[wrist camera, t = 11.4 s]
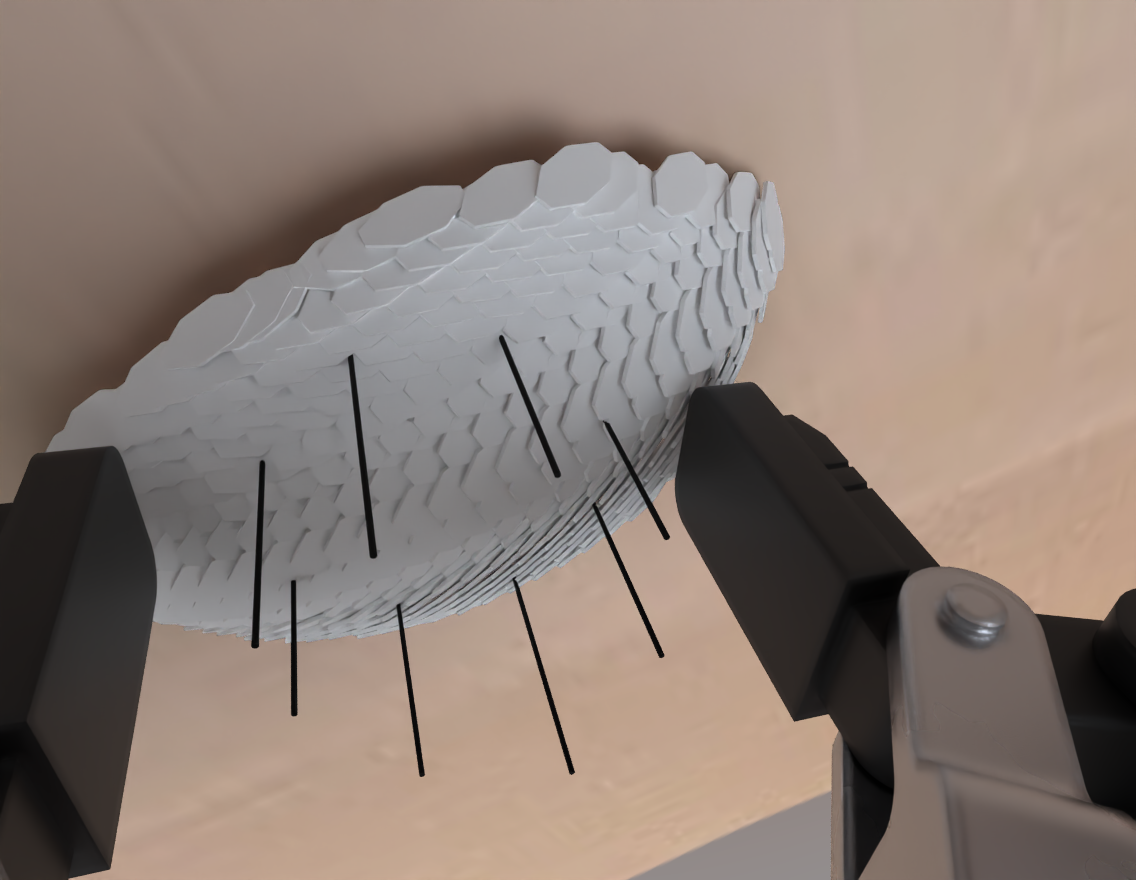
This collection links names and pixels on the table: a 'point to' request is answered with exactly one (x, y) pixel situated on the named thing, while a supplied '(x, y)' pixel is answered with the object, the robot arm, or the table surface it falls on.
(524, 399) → the pincushion
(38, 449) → the table surface
